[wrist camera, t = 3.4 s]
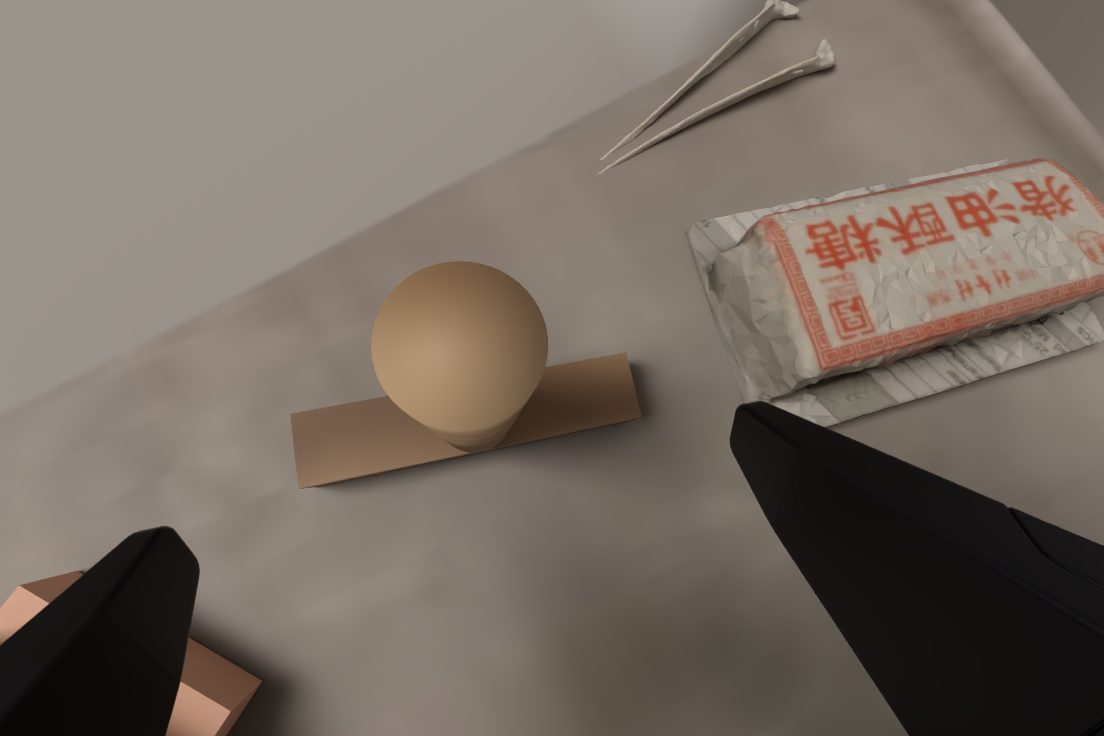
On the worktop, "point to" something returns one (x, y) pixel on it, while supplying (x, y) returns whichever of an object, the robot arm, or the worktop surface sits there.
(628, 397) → the wooden stamp
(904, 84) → the worktop surface
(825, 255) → the packaged product
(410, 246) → the worktop surface
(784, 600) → the worktop surface
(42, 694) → the robot arm
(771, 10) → the pair of ivory hairpins
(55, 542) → the worktop surface
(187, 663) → the fulcrum stand
